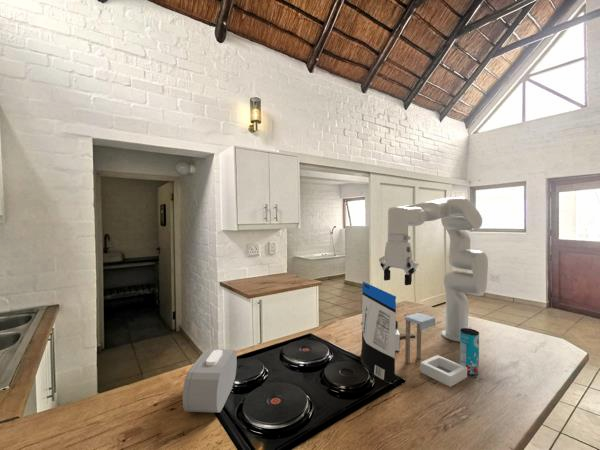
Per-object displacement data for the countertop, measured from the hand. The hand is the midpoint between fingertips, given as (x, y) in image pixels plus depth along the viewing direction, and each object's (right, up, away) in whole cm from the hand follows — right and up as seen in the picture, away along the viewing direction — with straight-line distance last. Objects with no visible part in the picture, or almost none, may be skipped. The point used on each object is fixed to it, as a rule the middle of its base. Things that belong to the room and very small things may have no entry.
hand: (397, 282), depth 108 cm
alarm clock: (-65, -31, -24) cm, 76 cm away
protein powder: (-9, -31, -4) cm, 33 cm away
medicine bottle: (+2, -31, +13) cm, 34 cm away
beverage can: (+24, -32, -6) cm, 40 cm away
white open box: (+12, -31, -6) cm, 34 cm away
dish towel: (+7, -32, +33) cm, 47 cm away
